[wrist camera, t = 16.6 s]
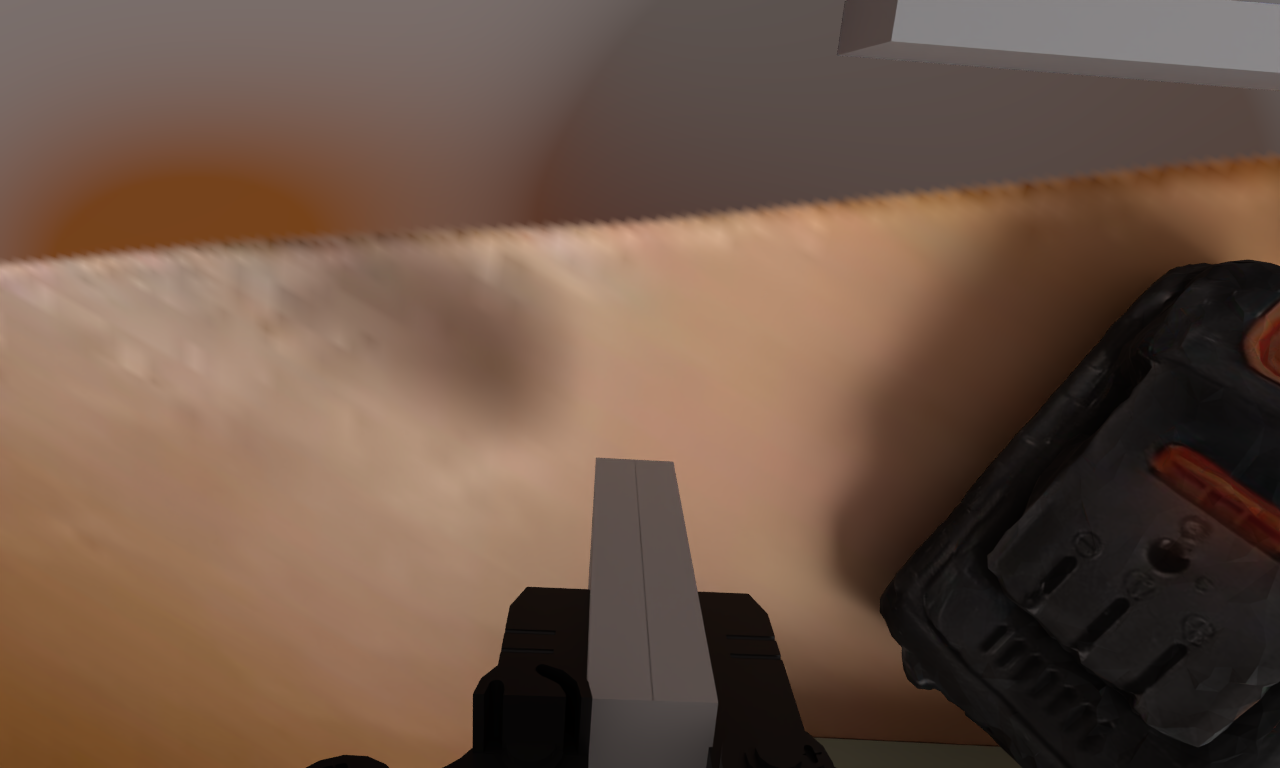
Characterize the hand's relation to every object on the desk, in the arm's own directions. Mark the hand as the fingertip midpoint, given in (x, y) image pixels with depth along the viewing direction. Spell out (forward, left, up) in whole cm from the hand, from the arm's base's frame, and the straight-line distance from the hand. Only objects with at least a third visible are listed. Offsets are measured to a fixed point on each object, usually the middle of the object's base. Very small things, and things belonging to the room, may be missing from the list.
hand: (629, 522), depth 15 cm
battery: (+11, 0, -4) cm, 12 cm away
